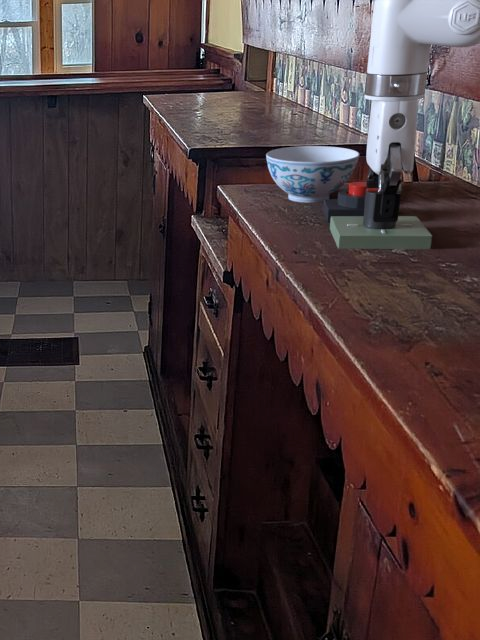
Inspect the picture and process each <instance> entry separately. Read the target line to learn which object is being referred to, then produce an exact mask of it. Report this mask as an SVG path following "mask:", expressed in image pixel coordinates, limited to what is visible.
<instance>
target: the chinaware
mask: <svg viewBox="0 0 480 640" xmlns="http://www.w3.org/2000/svg"><path fill="white" fill-rule="evenodd" d="M265 158H266V164H267V168H268V172H269V174H270V176H271V178H272V179H273V181H274V183H275V184H276V186H277V187H279V188H280V189H281V190H282V191H284V192H285V193H287V194H288V195H287V198H288V200H290V201H292V202H295V203H305V204H306V203H310V204H311V203H322V202H323V203H324V199H330V195H331V194H333V193H335V192H337V191H338V190H339V189H341V188H342V187H343V186H344V185H345V184H347V182H348V181H349V180H350V178H351V177H352V175H353V173H354V171H355V168H356V167H357V165H358V161H359V158H360V152H358V151H357V150H354V149H352V148H351V149H350V148H345V147H339V146H325V145H302V146H301V145H300V146H289V147H281V148H276V149H272V150H270V151H267V153H266V154H265Z"/></svg>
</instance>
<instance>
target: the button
mask: <svg viewBox="0 0 480 640" xmlns="http://www.w3.org/2000/svg"><path fill="white" fill-rule="evenodd" d="M366 182H367V181H352V182H350V183H349V184H348V189H349V193H348V194H350V195H357V196H365V191H366Z"/></svg>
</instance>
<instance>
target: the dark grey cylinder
mask: <svg viewBox="0 0 480 640" xmlns="http://www.w3.org/2000/svg"><path fill="white" fill-rule="evenodd" d="M376 193H378V188H367V190H366V198H365V207H364V217H363V226H365V227H368V228H374V229H389V228H393V227H395V226H396V222H374V221H373V211H374V202H375V194H376Z"/></svg>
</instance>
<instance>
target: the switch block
mask: <svg viewBox="0 0 480 640" xmlns="http://www.w3.org/2000/svg"><path fill="white" fill-rule="evenodd" d="M348 193H349V188H344V189H341V190H339V191H338V192H337V198H329V199H324V201H323V206H322V214H323V216H324V219H325V221H326V223H327V224H330V220H331V216H364V207H365V206H364V200H365V196H357V195H350V194H348Z"/></svg>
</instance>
